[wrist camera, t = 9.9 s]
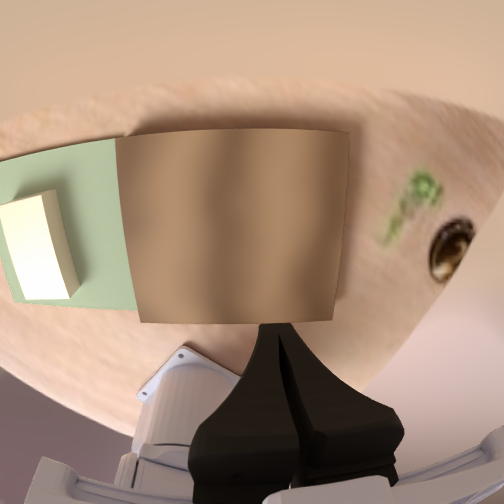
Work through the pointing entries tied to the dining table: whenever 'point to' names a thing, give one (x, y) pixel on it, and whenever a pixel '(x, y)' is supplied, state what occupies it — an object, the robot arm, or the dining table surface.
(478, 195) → the dining table surface
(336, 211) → the board
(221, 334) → the dining table surface
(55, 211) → the tile
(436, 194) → the dining table surface
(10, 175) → the mat
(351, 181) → the dining table surface
